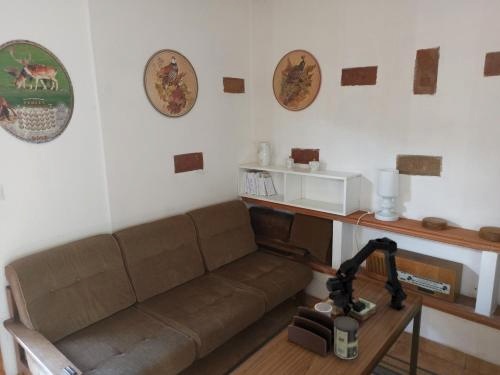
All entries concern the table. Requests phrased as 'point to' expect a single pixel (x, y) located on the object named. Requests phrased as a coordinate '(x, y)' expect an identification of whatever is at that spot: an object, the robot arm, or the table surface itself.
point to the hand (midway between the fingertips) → (346, 315)
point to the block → (333, 307)
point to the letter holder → (312, 331)
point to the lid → (368, 307)
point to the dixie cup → (324, 308)
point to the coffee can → (346, 337)
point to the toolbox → (365, 315)
